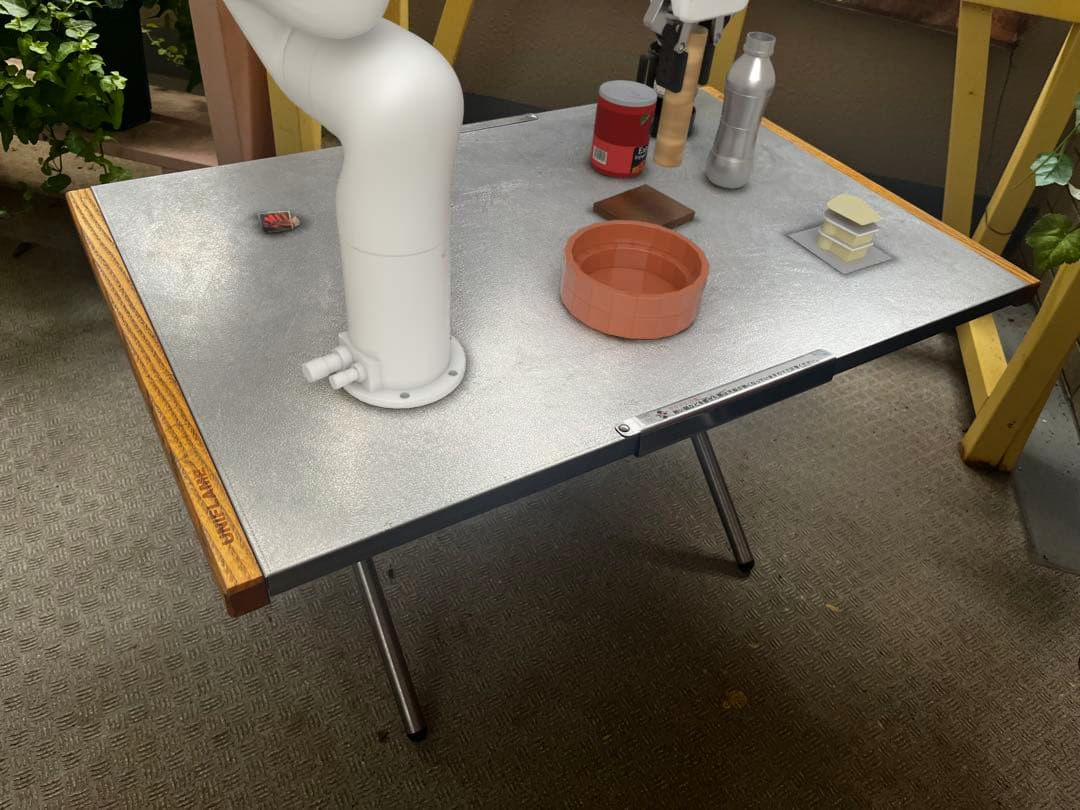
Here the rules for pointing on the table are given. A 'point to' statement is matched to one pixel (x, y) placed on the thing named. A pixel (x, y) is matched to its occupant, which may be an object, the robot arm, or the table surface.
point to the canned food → (622, 128)
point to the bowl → (633, 279)
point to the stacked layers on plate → (845, 235)
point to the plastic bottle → (742, 112)
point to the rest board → (644, 207)
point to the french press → (652, 84)
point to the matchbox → (277, 221)
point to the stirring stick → (680, 104)
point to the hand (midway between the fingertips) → (681, 82)
